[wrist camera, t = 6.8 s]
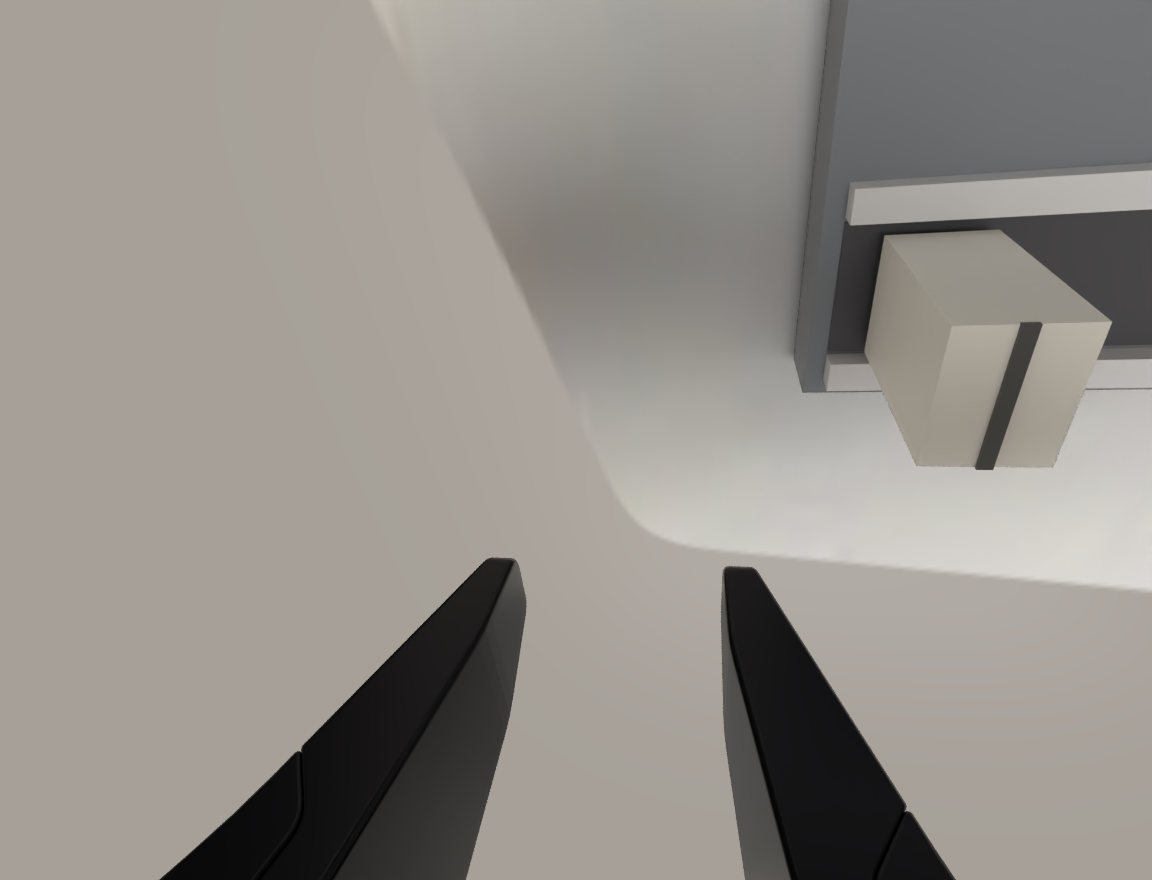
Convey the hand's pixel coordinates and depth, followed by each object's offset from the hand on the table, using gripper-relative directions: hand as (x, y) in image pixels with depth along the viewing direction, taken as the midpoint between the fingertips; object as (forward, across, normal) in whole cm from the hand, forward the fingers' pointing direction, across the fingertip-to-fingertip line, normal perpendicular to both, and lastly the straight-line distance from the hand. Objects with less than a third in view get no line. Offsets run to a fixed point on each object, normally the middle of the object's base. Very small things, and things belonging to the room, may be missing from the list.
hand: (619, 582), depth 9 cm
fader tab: (+10, -6, 0) cm, 12 cm away
